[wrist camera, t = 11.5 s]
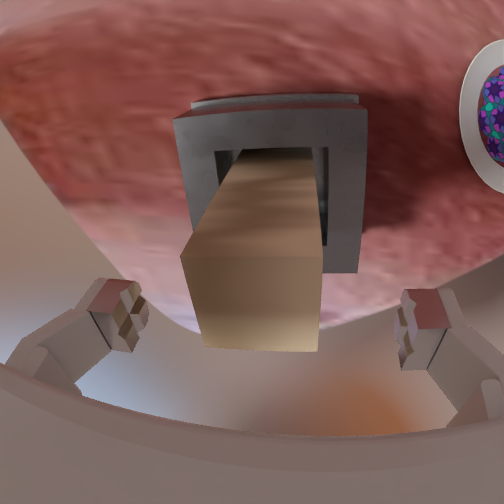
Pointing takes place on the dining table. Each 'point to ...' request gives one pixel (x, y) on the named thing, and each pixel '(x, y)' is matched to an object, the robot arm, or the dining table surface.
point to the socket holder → (278, 136)
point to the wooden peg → (259, 255)
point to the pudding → (484, 114)
